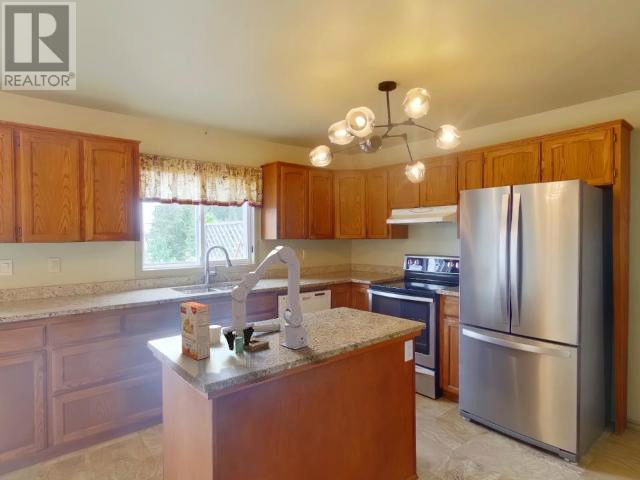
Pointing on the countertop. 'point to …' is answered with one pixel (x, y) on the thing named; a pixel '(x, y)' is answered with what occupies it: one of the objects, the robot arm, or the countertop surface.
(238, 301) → the robot arm
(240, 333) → the cream knobbed rod
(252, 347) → the socket board
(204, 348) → the cracker box
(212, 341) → the white cup
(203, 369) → the countertop surface
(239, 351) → the peg
